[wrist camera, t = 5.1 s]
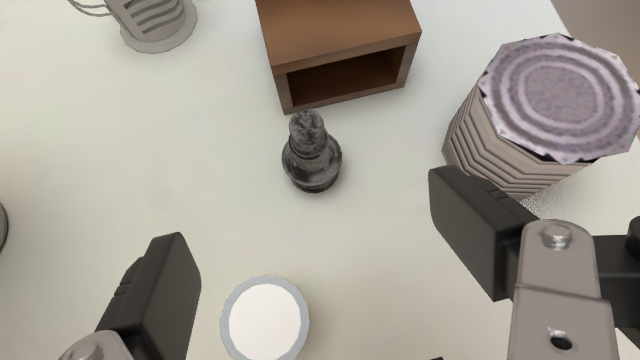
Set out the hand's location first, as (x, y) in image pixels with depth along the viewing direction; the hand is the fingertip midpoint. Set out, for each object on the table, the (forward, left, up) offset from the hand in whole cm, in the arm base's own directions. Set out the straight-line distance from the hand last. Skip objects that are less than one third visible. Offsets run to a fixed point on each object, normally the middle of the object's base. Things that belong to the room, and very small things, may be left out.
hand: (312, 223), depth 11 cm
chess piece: (+10, +4, -25) cm, 27 cm away
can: (+17, -14, -25) cm, 33 cm away
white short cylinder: (-5, +3, -25) cm, 25 cm away
